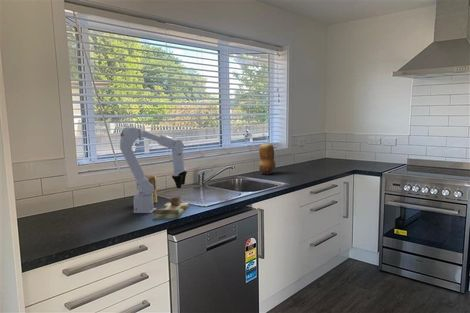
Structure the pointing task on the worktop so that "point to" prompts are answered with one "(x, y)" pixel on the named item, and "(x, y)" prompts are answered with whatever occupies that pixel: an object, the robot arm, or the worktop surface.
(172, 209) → the trap runway
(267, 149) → the butternut squash
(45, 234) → the worktop surface
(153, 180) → the candy box
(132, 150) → the robot arm
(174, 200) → the walnut block
